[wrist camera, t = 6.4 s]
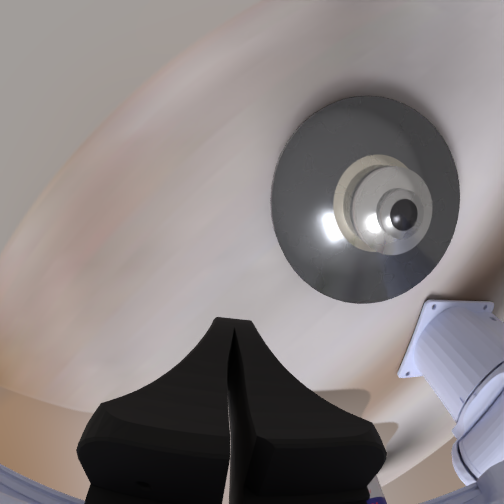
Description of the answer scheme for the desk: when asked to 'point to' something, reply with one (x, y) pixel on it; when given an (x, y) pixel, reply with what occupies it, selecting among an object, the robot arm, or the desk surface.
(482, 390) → the robot arm
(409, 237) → the cover
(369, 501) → the energy drink
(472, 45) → the desk surface
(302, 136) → the turntable
